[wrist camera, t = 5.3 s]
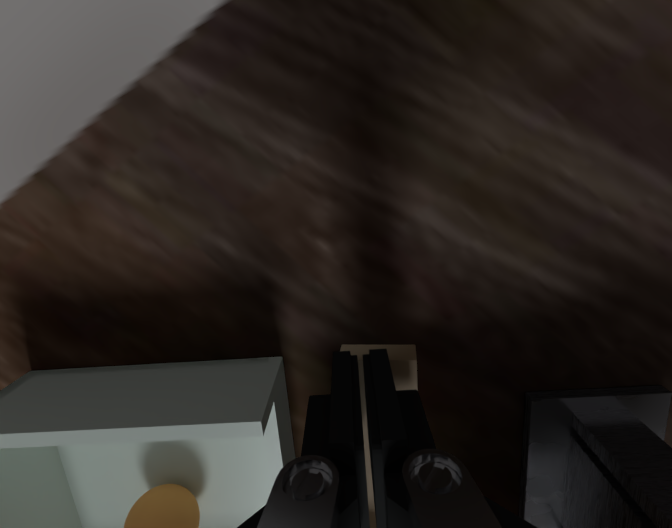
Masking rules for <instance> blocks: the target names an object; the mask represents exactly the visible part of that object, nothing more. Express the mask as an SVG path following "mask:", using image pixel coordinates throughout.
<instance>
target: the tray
mask: <svg viewBox="0 0 672 528" xmlns="http://www.w3.org/2000/svg"><path fill="white" fill-rule="evenodd" d="M294 459H295V451H294V443H293V435H292V427H291V420H290V412H289V404H288V396H287V388H286V380H285V372H284V364H283V357H265V358H248V359H230V360H212V361H195V362H177V363H159V364H142V365H124V366H106V367H89V368H71V369H54V370H36V371H29V372H28V373H26V374H25V375H23V376H22V377H20V378H19V379H17V380H16V381H14V382H13V383H11V384H10V385H8V386H7V387H5V388H4V389H2V390H1V391H0V528H124V524H125V520H126V518H127V515H128V513H129V511H130V509H131V508H132V506H133V505H134V504H135V502H136V501H137V500H138V499H139V498H140V497H141V496H142V495H143V494H144V493H146V492H147V491H149V490H150V489H152V488H154V487H156V486H159V485H163V484H177V485H181V486H183V487H185V488H187V489H188V490H189V491H190V492H191V493H192V494H193V495H194V497H195V498H196V500H197V503H198V506H199V511H200V521H199V527H198V528H237V527H238V526H239V525H241V524H242V523H243V522H245V521H246V520H247V519H248V518H250V517H251V516H252V515H253V514H255V513H256V512H257V511H259V510H260V509H261V508H262V507H264V506H265V505H266V503H267V500H268V498H269V495H270V493H271V490H272V487H273V485H274V482H275V480H276V477H277V475H278V474H279V472H280V470H281V469H282V468H283V467H284V466H285V465H286V464H287V463H288V462H290V461H292V460H294Z"/></svg>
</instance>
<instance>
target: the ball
mask: <svg viewBox="0 0 672 528" xmlns="http://www.w3.org/2000/svg"><path fill="white" fill-rule="evenodd" d="M199 521H200V511H199V506H198V503H197V500H196V498H195V497H194V495H193V494H192V493H191V492H190V491H189V490H188V489H187V488H185V487H183V486H181V485H177V484H163V485H159V486H156V487H154V488H152V489H150V490H149V491H147V492H146V493H144V494H143V495H142V496H141V497H140V498H139V499H138V500H137V501H136V502H135V504H134V505H133V506H132V508H131V509H130V511H129V513H128V515H127V518H126V520H125V524H124V528H198V527H199Z"/></svg>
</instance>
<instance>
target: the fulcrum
mask: <svg viewBox="0 0 672 528" xmlns="http://www.w3.org/2000/svg"><path fill="white" fill-rule="evenodd" d="M671 396H672V393H671V392H670V391H668V390H667V389H666V388H664V387H663V386H662V385H655V386H635V387H615V388H596V389H576V390H556V391H537V392H526V395H525V412H524V430H523V447H522V464H521V482H520V499H519V517H520V518H522V519H524V520H526V521H527V522H529V523H531V524H532V525H534V526H536V527H537V528H672V448H671V447H670V446H669V445H668V444H667V443H665V442H664V437H665V431H666V425H667V419H668V413H669V407H670V401H671Z"/></svg>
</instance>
